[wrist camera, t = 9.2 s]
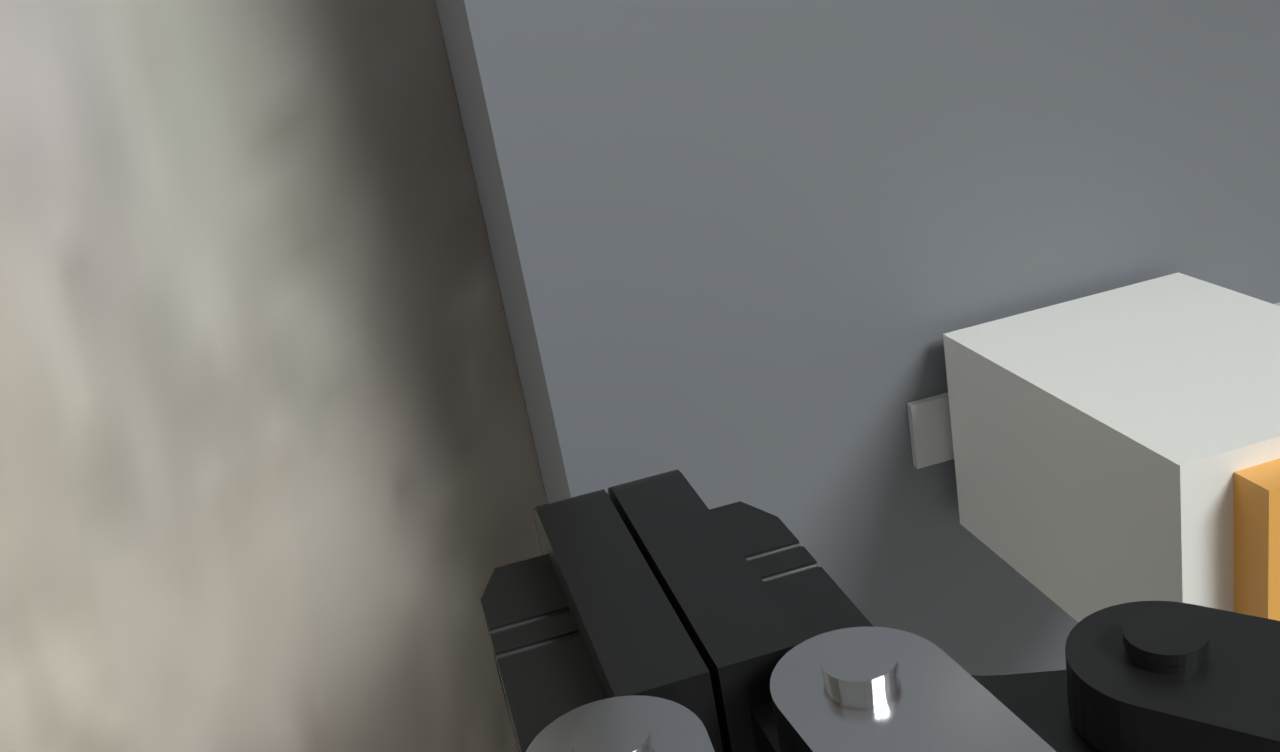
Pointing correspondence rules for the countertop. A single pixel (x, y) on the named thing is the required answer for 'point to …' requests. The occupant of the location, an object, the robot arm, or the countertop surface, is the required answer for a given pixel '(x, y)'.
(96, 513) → the countertop surface
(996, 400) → the block
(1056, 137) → the grey flat slab
